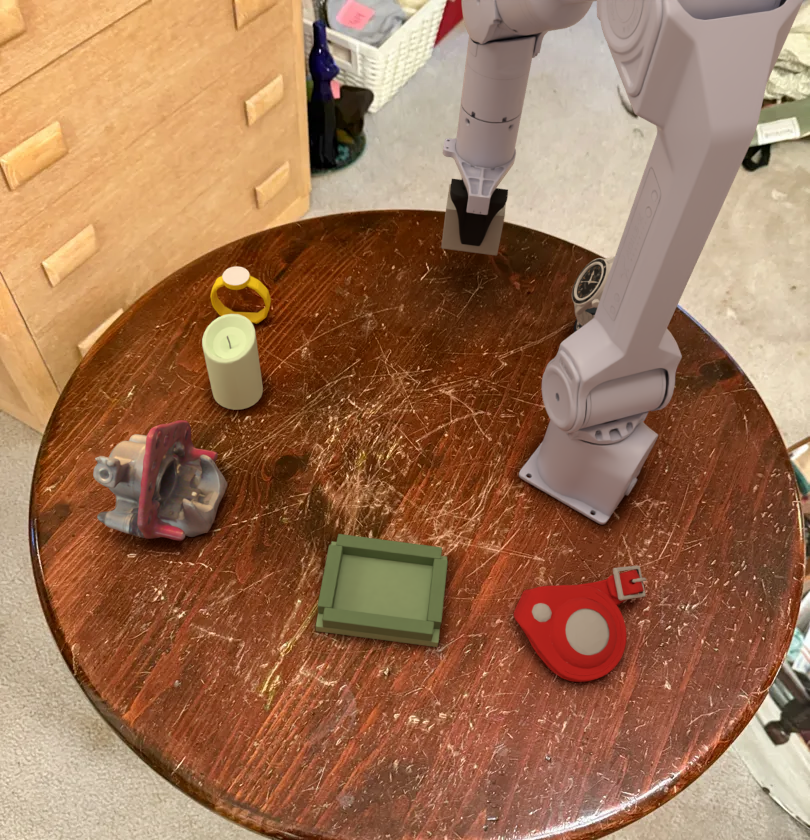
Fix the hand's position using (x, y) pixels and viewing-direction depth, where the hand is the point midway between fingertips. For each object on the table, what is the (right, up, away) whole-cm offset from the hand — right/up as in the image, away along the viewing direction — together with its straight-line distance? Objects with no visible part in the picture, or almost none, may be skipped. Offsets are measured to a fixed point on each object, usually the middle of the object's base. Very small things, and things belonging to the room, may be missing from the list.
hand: (472, 228), depth 87 cm
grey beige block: (0, -1, +1) cm, 1 cm away
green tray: (-9, -38, -15) cm, 42 cm away
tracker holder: (+9, -41, -16) cm, 44 cm away
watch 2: (-24, -10, 0) cm, 26 cm away
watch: (+13, -12, +2) cm, 18 cm away
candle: (-24, -18, -5) cm, 30 cm away
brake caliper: (-29, -30, -12) cm, 43 cm away
